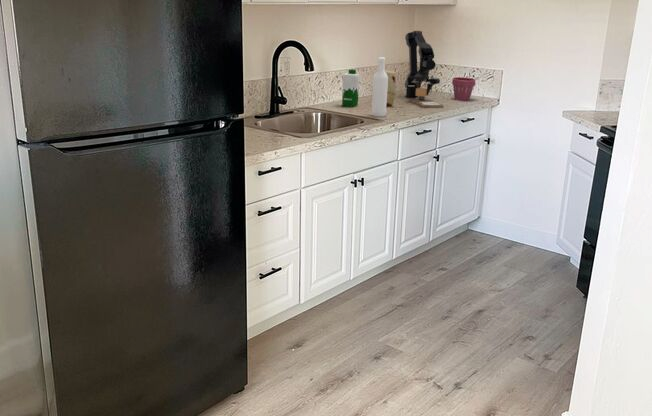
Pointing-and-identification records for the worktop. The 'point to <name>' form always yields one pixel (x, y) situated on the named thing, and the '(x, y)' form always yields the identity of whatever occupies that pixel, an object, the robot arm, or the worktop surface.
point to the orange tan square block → (421, 92)
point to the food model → (391, 87)
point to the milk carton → (350, 89)
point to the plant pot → (463, 88)
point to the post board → (425, 102)
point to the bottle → (379, 90)
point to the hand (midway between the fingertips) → (422, 94)
